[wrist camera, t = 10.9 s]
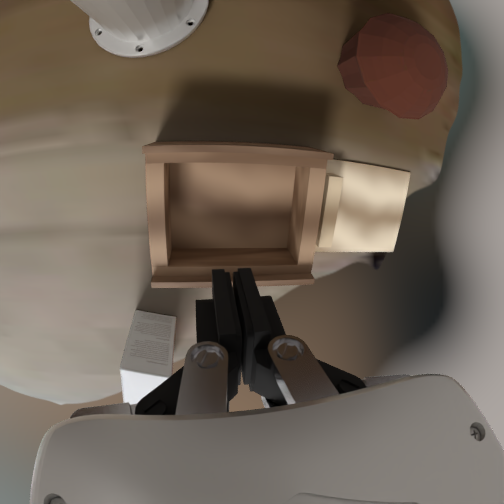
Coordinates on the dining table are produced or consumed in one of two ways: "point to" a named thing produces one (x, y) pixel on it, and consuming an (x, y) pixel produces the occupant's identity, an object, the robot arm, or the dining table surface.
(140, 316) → the small box
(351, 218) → the lid
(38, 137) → the dining table surface
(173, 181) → the walnut box
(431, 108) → the muffin
